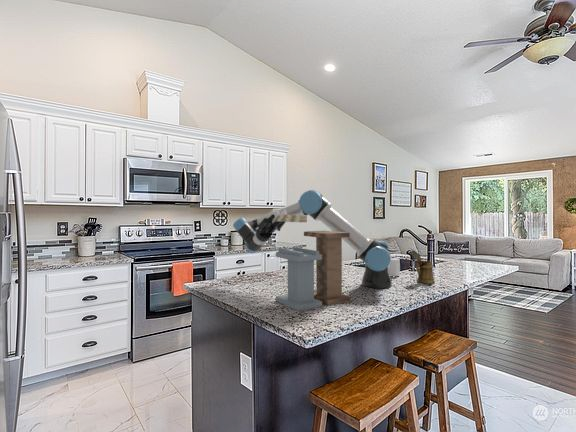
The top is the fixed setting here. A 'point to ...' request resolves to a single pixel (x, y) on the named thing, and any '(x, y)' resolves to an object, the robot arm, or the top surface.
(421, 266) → the wooden mug
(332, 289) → the tall bracket
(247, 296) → the top surface
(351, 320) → the top surface
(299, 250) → the low bracket
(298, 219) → the rail
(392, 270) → the cup
